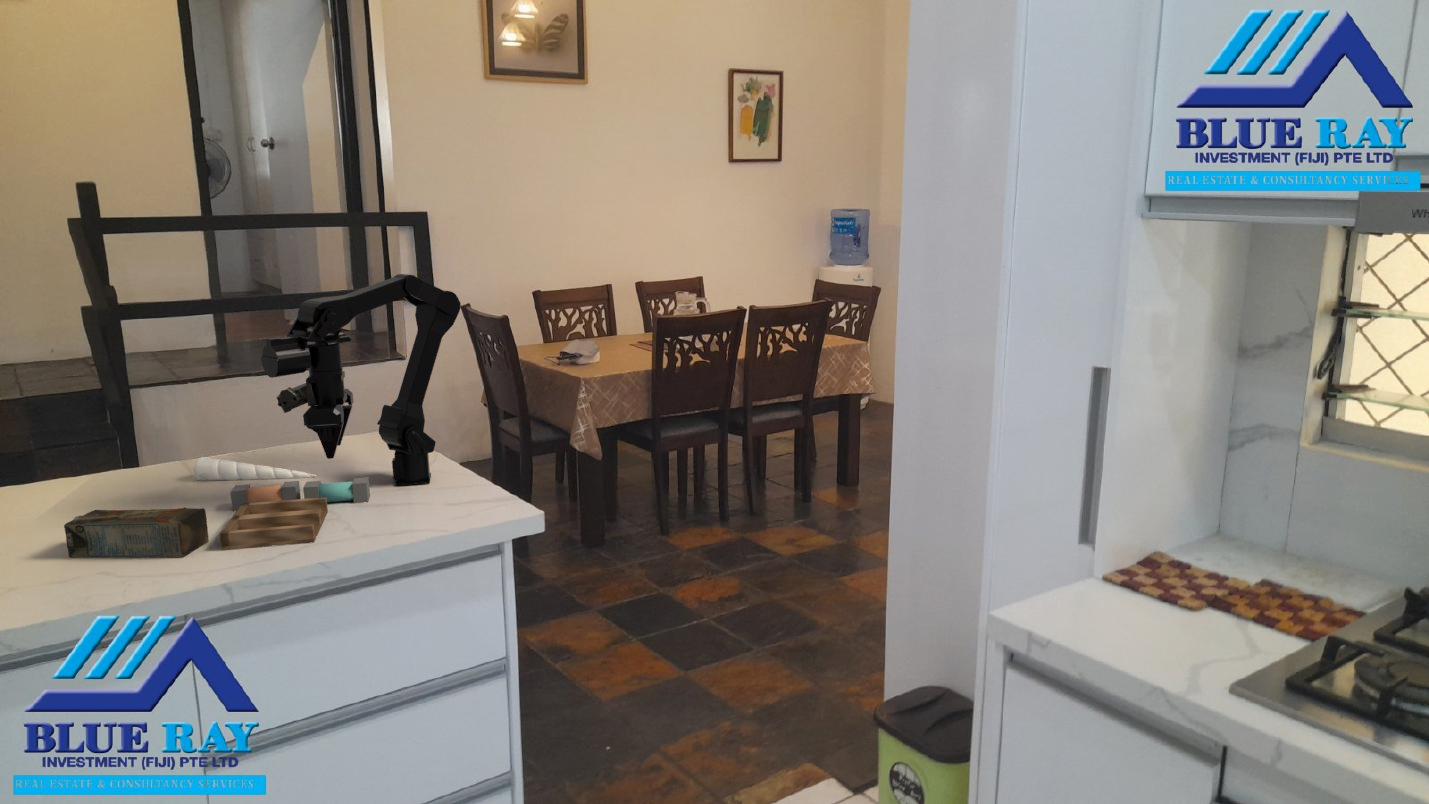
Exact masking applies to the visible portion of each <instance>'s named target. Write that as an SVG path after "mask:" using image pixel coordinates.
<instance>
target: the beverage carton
mask: <svg viewBox="0 0 1429 804" xmlns="http://www.w3.org/2000/svg"><path fill="white" fill-rule="evenodd" d="M63 528H64V533H65V539H66V540H65V541H66V548H67V553H68V558H70V559H77V558H80V559H82V558H83V559H84V558H85V559H91V558H93V559H94V558H95V559H105V558H106V559H110V558H112V559H113V558H114V559H119V558H121V559H122V558H124V559H125V558H127V559H128V558H129V559H130V558H131V559H132V558H164V557H165V558H184V557H186V556H188V555H189V554H190V553H192V552H194V551H196V550H198V549H199V548H201V547H202V546H204V545H206V544H207V543H209V542H210V539H209V531H208V530H209V529H208V521H207V512H206V509H205V508H204V507H202V508H201V507H200V508H198V507H197V508H195V507H194V508H193V507H192V508H191V507H189V508H188V507H179V508H160V509H159V508H158V509H155V508H153V509H110V510H109V509H94V510H91V511H89V512H87V513H85V514H84V515H76V516H74V518H73V519H72V520H70V521H68V522H67V523H65V524H64V525H63Z"/></svg>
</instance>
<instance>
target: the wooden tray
mask: <svg viewBox="0 0 1429 804" xmlns="http://www.w3.org/2000/svg"><path fill="white" fill-rule="evenodd" d="M328 507H329V506H328V502H327V497H322V498H309V499H304V498H301V499H296V500H283V501H269V502H256V503H243V504H242V505H241V506H240V508H239V509H238V510H237V511H235V512H234V514H233V516H232V517H231V518H230V520H229V521H228V523H226V525H225V526H224V528H223V529H222V531H221V532H220V533H219V539H220V547H221V551H228V550H229V551H230V550H240V549H253V548H262V547H263V546H264V547H265V546H266V547H273V546H272V545H278V546H285V545H284V544H289V545H298V544H299V545H300V543H301V544H308V543H309V544H310V542H312V543H315V541H316V539H317V537H318V534H319V533H320V530H321V528H322V526H323V523H324V521H325V520H326V517H327V515H328V512H329V511H328ZM316 536H317V537H316Z"/></svg>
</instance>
